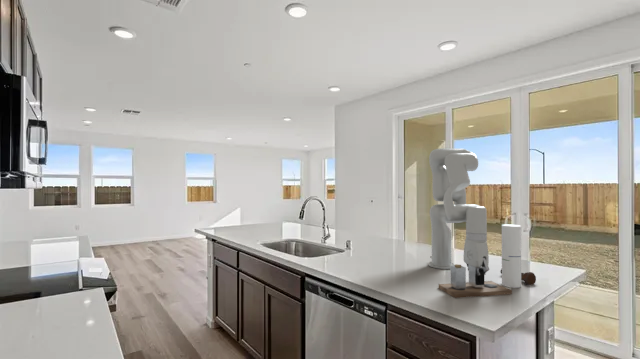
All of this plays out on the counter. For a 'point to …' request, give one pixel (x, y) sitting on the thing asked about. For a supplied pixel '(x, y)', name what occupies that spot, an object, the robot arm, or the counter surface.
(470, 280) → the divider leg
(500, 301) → the counter surface
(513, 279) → the cylindrical container
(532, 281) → the brown knobbed rod
